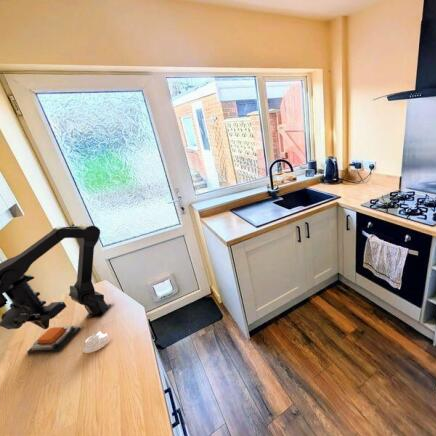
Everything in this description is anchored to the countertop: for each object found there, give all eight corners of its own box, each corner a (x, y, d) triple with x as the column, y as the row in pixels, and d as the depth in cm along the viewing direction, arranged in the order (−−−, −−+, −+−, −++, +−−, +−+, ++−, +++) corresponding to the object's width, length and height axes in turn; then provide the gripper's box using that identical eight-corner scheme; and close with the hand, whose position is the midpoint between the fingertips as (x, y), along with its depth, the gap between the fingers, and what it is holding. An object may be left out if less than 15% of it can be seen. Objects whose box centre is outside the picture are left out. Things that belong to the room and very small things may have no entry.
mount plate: (80, 329, 98) (77, 324, 97) (59, 351, 89) (55, 347, 88) (52, 330, 99) (49, 326, 98) (28, 353, 90) (24, 349, 88)
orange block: (67, 332, 96) (63, 326, 94) (54, 345, 91) (50, 339, 89) (54, 333, 96) (50, 327, 95) (40, 345, 91) (36, 340, 90)
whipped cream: (88, 359, 86) (81, 351, 83) (81, 349, 89) (74, 341, 87) (113, 341, 91) (107, 333, 89) (105, 332, 95) (99, 324, 92)
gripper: (-30, 316, 78) (-1, 349, 84) (24, 312, 77) (50, 346, 83) (7, 291, 88) (31, 323, 94) (56, 287, 87) (77, 320, 93)
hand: (46, 328), depth 91 cm, fingers closed
